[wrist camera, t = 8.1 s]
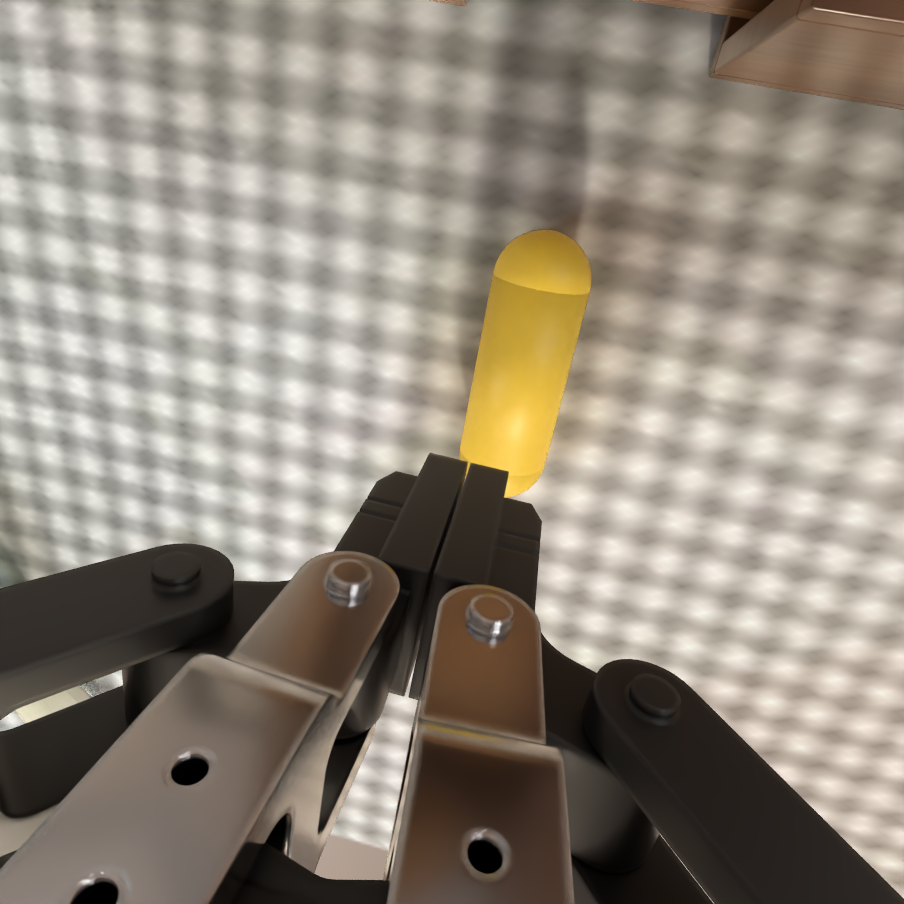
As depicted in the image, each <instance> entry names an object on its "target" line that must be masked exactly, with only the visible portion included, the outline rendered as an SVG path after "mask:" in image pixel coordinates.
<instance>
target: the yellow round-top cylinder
mask: <svg viewBox="0 0 904 904" xmlns="http://www.w3.org/2000/svg"><path fill="white" fill-rule="evenodd" d="M591 282H592V281H591V269H590V265H589V261H588V259H587V257H586V255H585V253H584V251H583V250H582V249H581V247H580V246H579V245H578V244H577V243H576V242H575V241H574V240H573V239H572V238H570V237H569V236H567V235H565V234H563V233H561V232H557V231H553V230H546V229H542V230H533V231H530V232H527V233H524V234H522V235H521V236H519V237H517V238H515V239H514V240H513V241H512V242H510V243H509V244H508V245H507V246H506V247H505V249H504V250H503V251H502V253H501V254H500V256H499V258H498V260H497V262H496V265H495V269H494V272H493V277H492V282H491V287H490V292H489V298H488V303H487V308H486V314H485V319H484V324H483V329H482V335H481V340H480V345H479V351H478V356H477V361H476V366H475V372H474V377H473V382H472V388H471V393H470V398H469V403H468V409H467V414H466V419H465V424H464V430H463V435H462V440H461V446H460V460H462V461H466V462H468V466H467V472H466V476H467V473H468V470H469V467H470V464H471V463H475V464H479V465H484V466H488V467H492V468H496V469H500V470H505V471H509V475H508V480H507V485H506V490H505V495H504V497H511V496H515V495H518V494H521V493H523V492H524V491H526V490H528V489H529V488H530V487H531V486H532V485H533V484H534V483H535V482H536V481H537V480H538V479H539V477H540V475H541V473H542V471H543V468H544V466H545V462H546V459H547V455H548V451H549V447H550V443H551V439H552V435H553V432H554V428H555V424H556V420H557V416H558V412H559V409H560V405H561V401H562V397H563V393H564V389H565V386H566V382H567V378H568V374H569V370H570V366H571V362H572V359H573V355H574V351H575V347H576V343H577V339H578V336H579V332H580V328H581V324H582V320H583V316H584V312H585V309H586V305H587V301H588V297H589V293H590V288H591Z"/></svg>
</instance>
